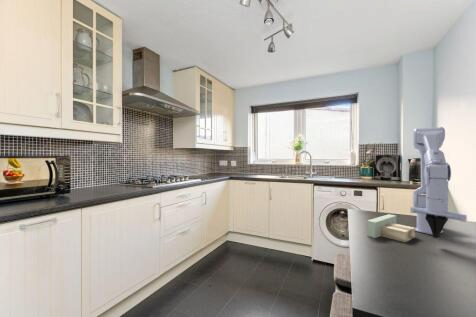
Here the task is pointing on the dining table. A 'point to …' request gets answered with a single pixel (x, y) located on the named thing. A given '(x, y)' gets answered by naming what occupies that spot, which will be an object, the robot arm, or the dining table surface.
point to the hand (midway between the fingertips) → (436, 237)
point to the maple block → (398, 232)
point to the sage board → (379, 224)
